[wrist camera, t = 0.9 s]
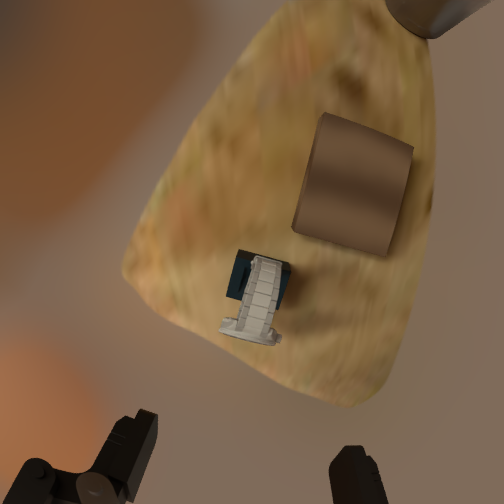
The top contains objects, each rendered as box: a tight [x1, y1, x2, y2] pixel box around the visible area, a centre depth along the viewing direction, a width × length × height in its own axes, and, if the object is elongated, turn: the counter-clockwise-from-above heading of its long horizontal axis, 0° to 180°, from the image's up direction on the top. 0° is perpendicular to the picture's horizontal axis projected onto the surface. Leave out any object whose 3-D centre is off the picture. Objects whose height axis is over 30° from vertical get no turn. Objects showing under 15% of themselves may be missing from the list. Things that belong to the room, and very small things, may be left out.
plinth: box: [291, 112, 414, 257], centre depth 26 cm, size 12×10×3 cm
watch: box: [219, 249, 291, 346], centre depth 25 cm, size 6×8×11 cm
